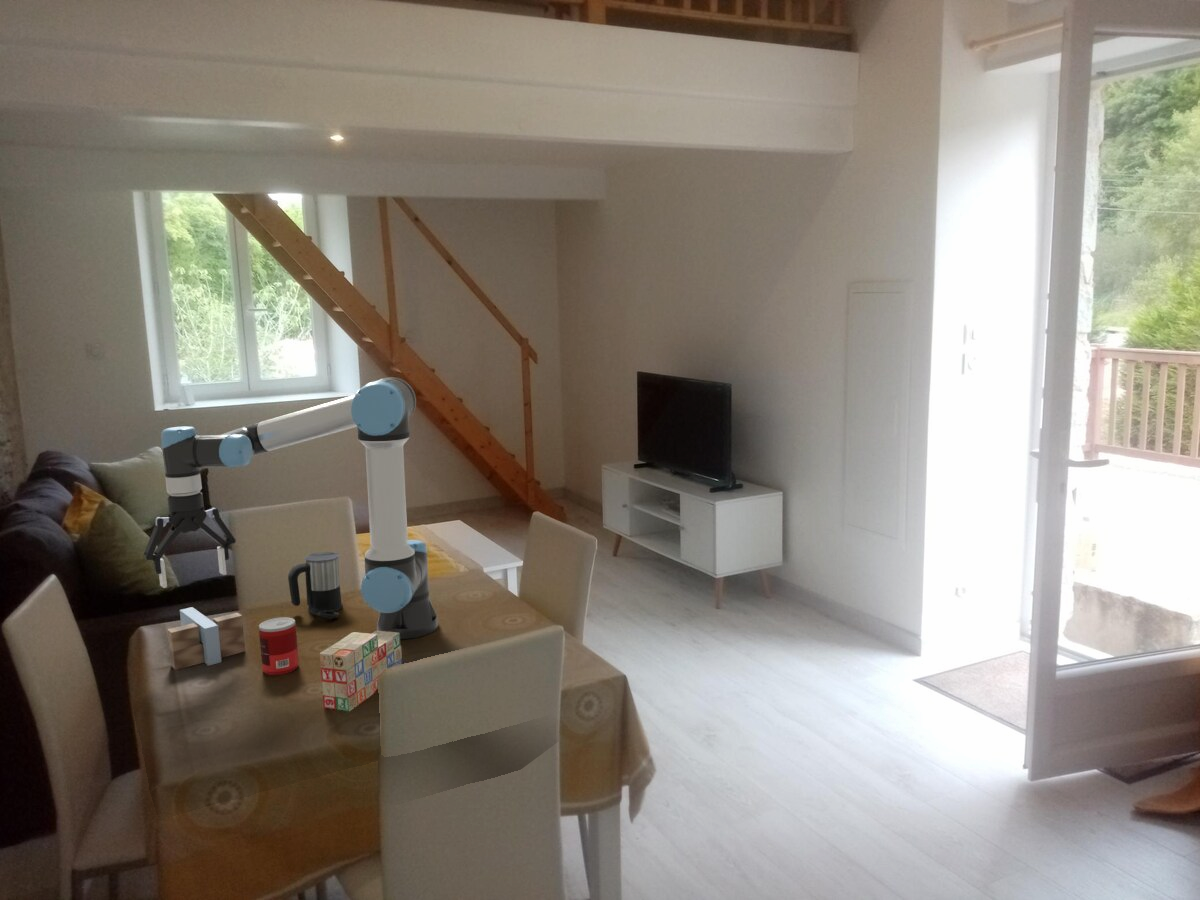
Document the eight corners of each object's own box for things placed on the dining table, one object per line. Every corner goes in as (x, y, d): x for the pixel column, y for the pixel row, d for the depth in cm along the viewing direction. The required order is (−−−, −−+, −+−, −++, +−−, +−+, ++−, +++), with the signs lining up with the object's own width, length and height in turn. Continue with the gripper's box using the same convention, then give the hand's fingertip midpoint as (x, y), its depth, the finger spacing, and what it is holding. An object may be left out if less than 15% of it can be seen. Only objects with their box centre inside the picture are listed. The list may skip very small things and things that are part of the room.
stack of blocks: (378, 668, 206) (375, 617, 204) (403, 671, 204) (400, 619, 202) (323, 709, 186) (318, 652, 184) (349, 712, 184) (345, 655, 182)
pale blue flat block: (221, 662, 211) (218, 625, 210) (208, 665, 209) (204, 628, 208) (195, 641, 225) (192, 607, 223) (183, 644, 223) (179, 609, 221)
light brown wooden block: (240, 647, 220) (237, 612, 218) (245, 651, 218) (242, 615, 216) (171, 666, 209) (167, 629, 208) (175, 669, 207) (171, 632, 206)
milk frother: (329, 600, 254) (325, 549, 251) (365, 611, 245) (362, 558, 242) (285, 615, 243) (281, 561, 240) (321, 626, 233) (317, 571, 231)
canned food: (305, 663, 209) (302, 618, 207) (283, 677, 202) (279, 630, 200) (278, 660, 212) (274, 615, 210) (255, 673, 204) (251, 627, 202)
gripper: (232, 482, 222) (240, 565, 226) (122, 499, 206) (132, 588, 210) (244, 486, 217) (252, 571, 220) (131, 504, 201) (142, 595, 204)
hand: (194, 580), depth 215 cm, fingers open, 13 cm apart
